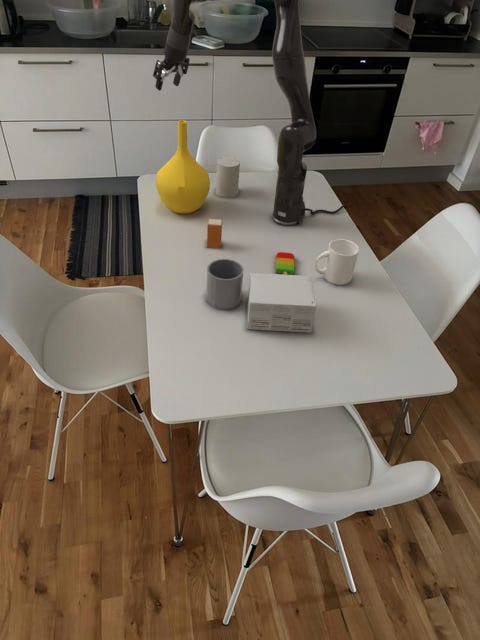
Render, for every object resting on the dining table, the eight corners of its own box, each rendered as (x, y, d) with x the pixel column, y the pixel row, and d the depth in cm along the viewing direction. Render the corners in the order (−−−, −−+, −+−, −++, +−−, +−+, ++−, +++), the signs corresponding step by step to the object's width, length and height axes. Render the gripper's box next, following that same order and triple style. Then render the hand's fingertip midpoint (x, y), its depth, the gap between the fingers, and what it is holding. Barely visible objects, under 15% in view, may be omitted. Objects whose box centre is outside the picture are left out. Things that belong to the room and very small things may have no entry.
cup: (237, 198, 185) (239, 167, 177) (215, 196, 184) (216, 165, 177) (238, 188, 191) (240, 157, 183) (216, 186, 191) (217, 156, 183)
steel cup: (241, 288, 144) (243, 259, 138) (240, 310, 137) (243, 281, 130) (207, 286, 144) (208, 257, 137) (205, 308, 137) (206, 278, 130)
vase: (219, 206, 179) (223, 121, 160) (186, 226, 168) (185, 137, 148) (180, 189, 187) (179, 107, 167) (146, 207, 175) (140, 121, 156)
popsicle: (293, 257, 158) (294, 252, 157) (294, 286, 147) (295, 281, 145) (276, 256, 158) (276, 251, 157) (275, 284, 147) (276, 279, 145)
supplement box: (307, 302, 142) (312, 275, 135) (311, 333, 132) (317, 306, 125) (247, 298, 141) (249, 271, 135) (247, 329, 131) (249, 302, 125)
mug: (308, 269, 154) (314, 239, 146) (346, 268, 155) (353, 238, 148) (315, 286, 147) (322, 256, 140) (354, 285, 149) (363, 255, 142)
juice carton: (221, 242, 162) (222, 219, 156) (220, 248, 159) (221, 225, 154) (207, 241, 162) (208, 218, 156) (206, 247, 159) (207, 224, 154)
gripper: (170, 52, 162) (159, 97, 174) (200, 46, 171) (188, 89, 183) (154, 38, 163) (145, 84, 176) (185, 33, 172) (174, 77, 185)
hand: (167, 86), depth 179 cm, fingers open, 8 cm apart
